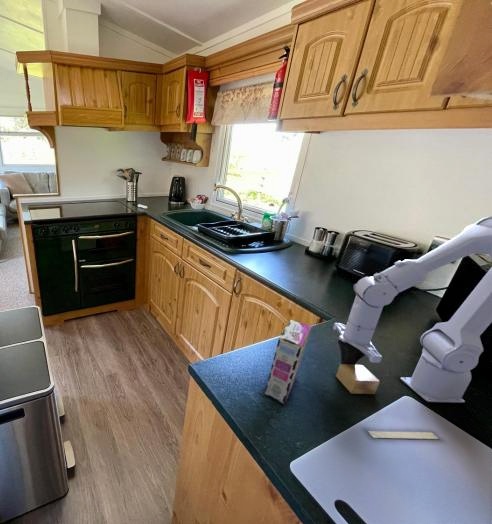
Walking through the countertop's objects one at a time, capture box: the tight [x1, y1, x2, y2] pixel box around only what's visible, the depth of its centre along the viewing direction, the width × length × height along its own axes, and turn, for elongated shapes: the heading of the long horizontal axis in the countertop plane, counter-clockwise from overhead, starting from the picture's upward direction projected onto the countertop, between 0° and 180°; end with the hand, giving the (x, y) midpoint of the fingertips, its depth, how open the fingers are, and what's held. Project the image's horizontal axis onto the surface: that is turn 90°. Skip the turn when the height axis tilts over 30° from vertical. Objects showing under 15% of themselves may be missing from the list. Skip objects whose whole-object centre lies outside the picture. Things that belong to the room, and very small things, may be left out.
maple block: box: [335, 363, 381, 395], centre depth 74 cm, size 6×6×4 cm
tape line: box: [367, 430, 439, 440], centre depth 61 cm, size 14×2×1 cm, turn 91°
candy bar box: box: [264, 319, 312, 405], centre depth 70 cm, size 11×5×16 cm, turn 141°
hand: (346, 367), depth 78 cm, fingers closed
